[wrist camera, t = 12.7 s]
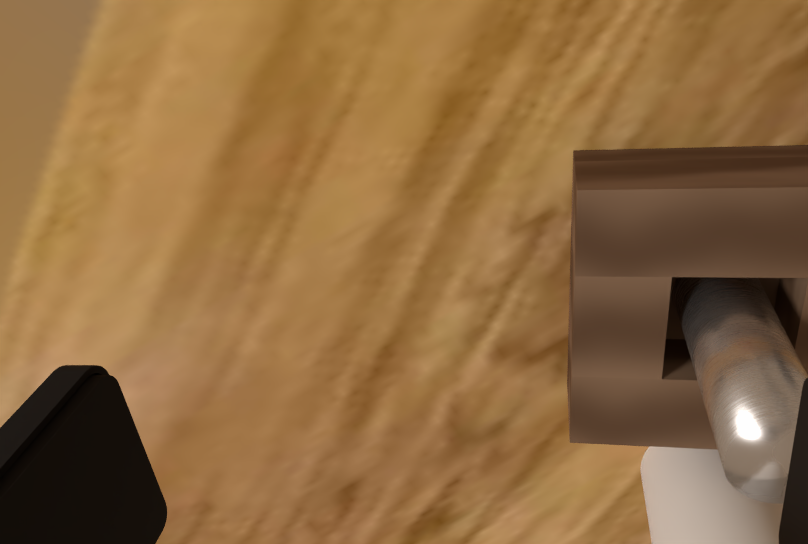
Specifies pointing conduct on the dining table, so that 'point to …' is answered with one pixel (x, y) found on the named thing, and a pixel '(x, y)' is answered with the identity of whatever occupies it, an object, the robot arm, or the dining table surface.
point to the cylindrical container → (701, 501)
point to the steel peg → (743, 379)
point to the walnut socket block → (672, 277)
